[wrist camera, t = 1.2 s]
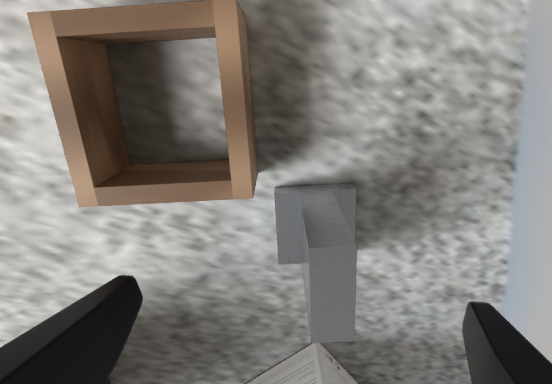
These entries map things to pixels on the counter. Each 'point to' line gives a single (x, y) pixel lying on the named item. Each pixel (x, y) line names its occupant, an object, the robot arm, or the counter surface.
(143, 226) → the counter surface
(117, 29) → the square frame
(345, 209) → the bracket
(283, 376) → the supplement box
